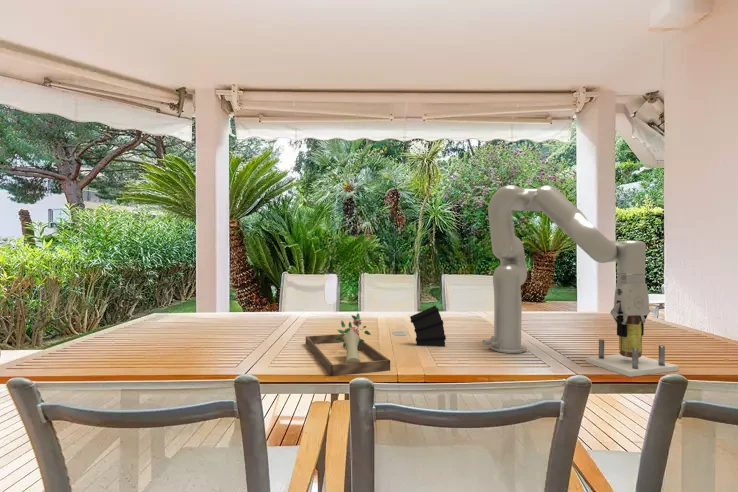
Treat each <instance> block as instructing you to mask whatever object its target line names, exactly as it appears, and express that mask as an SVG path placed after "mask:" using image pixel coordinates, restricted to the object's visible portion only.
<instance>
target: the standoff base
mask: <svg viewBox="0 0 738 492" xmlns="http://www.w3.org/2000/svg"><path fill="white" fill-rule="evenodd" d="M638 352H639V349H638V348H632V358H630V357H625V356H622V355H620V353H618V354H611V355H610V354H609V355H605V339H601V338H600V339H598V355H597V356H589V357H585V363H587V364H590V365H593V366H596V367H599V368H602V369H605V370H609V371H611V372H613V373H616V374H620V375H623V376H626V377H629V378H631V377H639V376H648V375H655V374H663V373H672V372H679V365H677V364H673V363H669V362H666V346H665V345H658V359H655V358H651V357H647V356H644V355H642V356H641V357H639V358H638Z"/></svg>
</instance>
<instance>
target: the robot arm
mask: <svg viewBox="0 0 738 492" xmlns="http://www.w3.org/2000/svg"><path fill="white" fill-rule="evenodd" d="M487 208H488V210H487V212H488V213H487V214H488V215H487V216H488V221H489V222H488V224H489V233H490V241H491V251H492V254H493V255H494V257H495V258H496V259H499V264H500V265H498V266H497V267H496V268H495V270H494V272H493V275H492V286H493V287H492V288H493V297H494V299H493V300H494V301H493V303H494V304H493V307H494V308H493V309H494V313H493V316H494V317H493V319H494V320H493V328H494V329H493V335H492V336H491V337H490V339H483V340H482V345H483V346H489V349H490V350H492V351H495V352H499V353H503V354H504V353H505V354H520V353H525V352H526V349H527V347H525V346H524V345H523V344H522V316H523V315H522V310H523V309H522V307H523V306H522V304H523V303H522V291H521V290H522V289H521V286H522V285H524V284H525V283H526V280H527V278H528V271H527V261H526V255H525V248H524V244H523V241H522V240H521V239H520V237H519V236H517V235H516V232H515V227H514V223H515V222H514V220H513V215H512V212H513V211H519V212H520V211H521V212H522V211H523V212H542V213H544V214H545V215H546V216H547V218H549V219H550V220H551V221H552V222H553V223H554V224H555V225H556V226H557V228H559V229H560V230H561V231H562V232H563V233H564V234H565V235H566V236H568V237H569V238H570V239H571V240H572V241H573V242H574V243H575V244H576V245H577V246H578V247H579V248H580V249H582V251H583V252H584V253H586V254H587V255H588V256H589V257H590V258H591V259H592V260H593V261H595V262H597V263H600V264H607V263H612V262H617V267H616V268H617V272H616V273H617V274H616V275H617V277H616V279H617V281H616V284H615V285H616V286H615V288H614V289H615V290H614V299H613V308H612V309H611V310H610V315H611V316H612V317H613V320H614V321H615V323H616V336H618V337H619V336H622V337H627V324H626V321H627V318H628V316H640V317H641V322H642V323H641V324H642V337H643V336H644V327H645V323H646V319H647V318H648V316H649V314H650V312H651V309H650V300H649V289H648V285H647V283H646V243H645V242H644V240H643V241H642V240H621V241H618V240H610V239H609V238H607V237H606V236H605V234H604V233H601V232H600V231H599V230H598V228H596V227H595V226H594V225H593V224H592V222H591V221H589V220H588V218H587V216H586V215H585V214H584V213H583V212H582V211H581V210H580V209H579V208H578V207H577V206H576V205H574V204H573V203H572V202H571V200H569V199H568V198H567V197H566V196H564V194H563V193H561V192H560V191H559V190H558V189H557V188H555V187H554V186H552V185H548V184H546V185H541V186H539V187H537V188H521V187H520V186H517V185H516V184H515V185H513V184H508V185H507V184H506V185H505V186H502V187H500V188H499V189H497V191H495V193H493V194H492V196H491V198H490V200H489V203H488V207H487ZM622 312H623V314H621V313H622ZM621 316H623V319H622V318H621Z"/></svg>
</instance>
